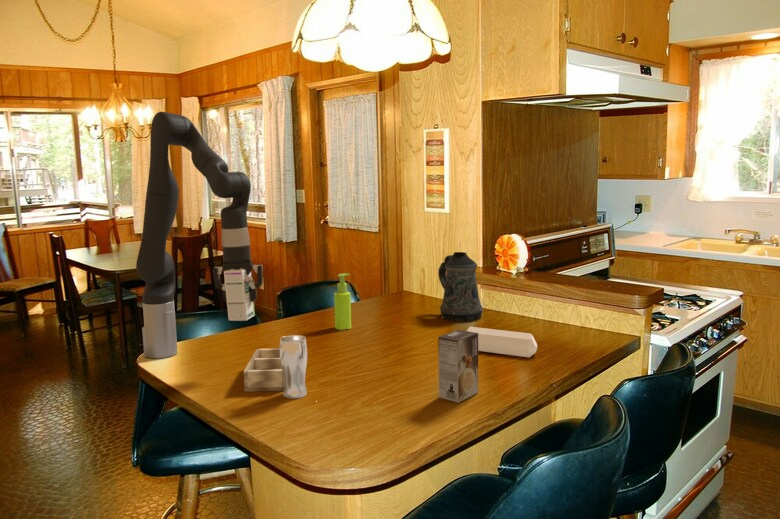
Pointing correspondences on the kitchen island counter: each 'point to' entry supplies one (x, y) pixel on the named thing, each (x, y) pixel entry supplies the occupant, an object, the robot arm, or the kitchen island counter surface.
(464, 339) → the coffee box
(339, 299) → the soap dispenser
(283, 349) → the beer glass
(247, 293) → the syrup box
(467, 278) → the beer stein
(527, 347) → the crystal
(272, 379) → the crate
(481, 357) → the kitchen island counter surface
